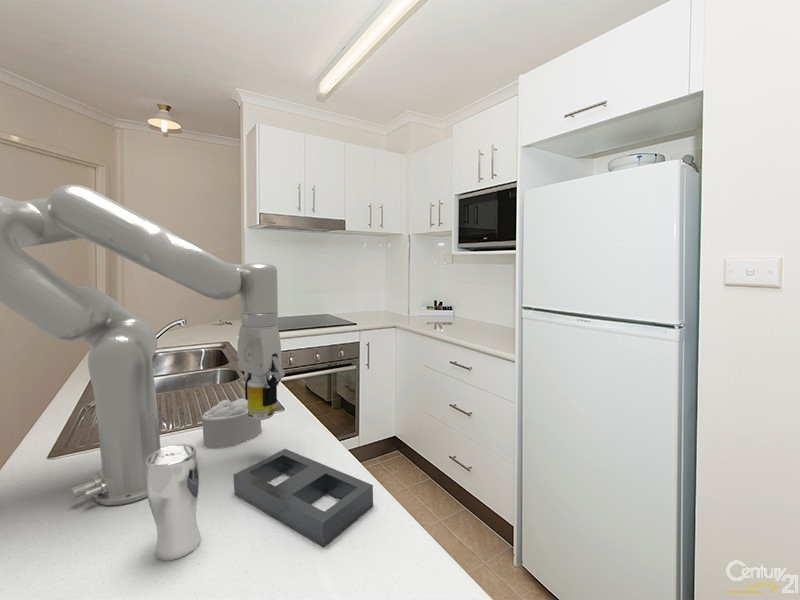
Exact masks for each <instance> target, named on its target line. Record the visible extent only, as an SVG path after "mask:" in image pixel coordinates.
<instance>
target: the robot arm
mask: <svg viewBox="0 0 800 600" xmlns="http://www.w3.org/2000/svg"><path fill="white" fill-rule="evenodd" d="M82 239H84V240H86V241H88V242H90V243H93V244H95V245H97V246H99V247H101V248H103V249H106V250H108V251H110V252H112V253H114V254H116V255H118V256H120V257H121V258H124V259H126V260H128V261H130V262H132V263H134V264H136V265H138V266H140V267H142V268H144V269H147V270H148V271H149V270H150V271H152V272H155V273H157V274H159V275H161V276H163V277H165V278H167V279H169V280H170V281H173V282H175V283H177V284H178V285H181V286H183V287H184V288H187V289H190V290H192V291H194V292H196V293H197V294H200V295H202V296H204V297H206V298H208V299H211V300H215V301H227V300H230V299H232V298H234V297H235V296H240V326H239V331H238V339H237V352H236V353H237V355H236V358H237V360H236V361H237V362H236V363H237V368H238V369H239V370H240V372H241V373H242V375H243V382H244V396H245V397H244V399H246V400H248V395H247V383H248V381H249V380H251V374H254V375H258V376H262V377H263V382H264V386H265V388H263V406H265V407H266V406H269V405H272V404H274V405H275V404H276V403H277V402H278V396H277V395H278V393H277V392H278V386H279V383H280V381H281V380H282V379H283V377H284V376H285V375H286V372H285V370H284V368H283V367H282V347H281V338H280V331H279V316H278V315H279V311H278V310H279V309H278V306H279V305H278V304H279V303H278V297H279V296H278V270H277V269H278V268H277V267H276V266H275V265H274V264H273V263H272V264H271V263H244V264H239V263H230V262H227V261H225V260H223V259H221V258H219V257H217V256H215V255H213V254H211V253H210V252H208V251H205V250H204V249H201V247H198V246H197V245H194V244H192V243H191V242H188V241H186V240H184V239H183V238H181V237H179V236H178V235H176V234H174V233H173V232H172V231H170V229H168V228H166V227H164V226H162V225H160V224H159V223H157V222H155V221H154V220H152V219H149V218H148V217H145V216H143V215H142V214H139V212H138V213H137V212H136V211H134V210H132V209H130V208H129V207H126V206H124V205H123V204H120V202H117V201H115V200H113V199H111V198H110V197H107V196H106V195H103V194H102V193H100V192H98V191H96V190H94V189H92V188H89V187H87V186H85V185H81V184H80V185H79V184H72V183H71V184H64V185H61V186H59V187H57V188H55V189H54V190H53V191H52V192H51V193H50V194H49V196H48V197H45V198H36V199H28V200H27V199H26V200H16V199H12V198H9V197H6V196H2V195H0V303H1V304H3V305H4V306H5V307H6V308H8V309H10V310H11V311H13V312H14V313H16V315H18V316H20V317H21V318H23V319H24V320H26V321H28V322H29V323H31V324H32V325H33V326H35V327H36V328H37V329H39V330H41V332H43V333H45V334H46V335H48V336H49V337H51V338H53V339H56V340H58V341H65V342H66V341H67V342H69V341H77V340H82V341H84V342H85V343H87V344H88V345H90V349H89V352H88V356H87V367H88V373H89V377H90V381H91V386H92V391H93V395H94V403H95V413H96V419H97V420H96V421H97V429H98V430H97V431H98V440H99V448H100V449H99V451H100V460H101V469H100V470H98V471H96V477H94V478H92V479H91V481H88V482H85V483H82V484H79V485H77V486H74V487H71V488H70V496H71V499H73V500H74V499H77V498H80V497H82V496H84V497H85V499H86V500H88V499H90V498H92V497H93V498H94V500H95V502H96V503H98V504H100V505H105V506H119V505H125V504H131V503H134V502H137V501H139V500H140V501H141V500H143V499H145V498H148V497H147V490H146V458H147V457H148V456H149V455H150V454H152V453H153V452H155V451H157V450H159V449H162V448H161V439H160V438H161V437H160V427H159V425H160V424H159V414H158V413H159V412H158V403H157V391H156V383H155V377H154V376H155V375H154V369H153V357H154V355H155V353H156V351H157V348H158V338H157V336H156V334H155V331H154V330H153V329H152V328H151V327H150V326H149V325H148V324H147V323H145V322H144V321H142V320H141V319H140V318H139V317H137V316H136V315H134V314H133V313H132V312H131V311H129V310H128V309H127V308H126V307H124V306H123V305H121V304H120V303H119V302H117V301H116V300H115V299H113V298H112V297H111V296H109V295H107V294H106V293H105V292H103V291H101V290H98V289H97V288H94V287H91V286H85V285H84V286H83V285H78V286H77V285H76V286H75V285H74V284H72V283H71V282H69V281H67V280H66V279H64V277H61V276H60V274H58V273H56V272H54V270H52V269H51V268H50V267H48V265H46V264H44V263H43V262H41V261H40V260H38V259H37V258H35V257H33V256H32V255H30V254H29V253H27V252H26V251H25V250H23V249H22V248H31V247H37V246H38V247H39V246H43V245H50V244H57V243H61V242H63V243H64V242H69V241H76V240H82ZM269 371H270V373H269ZM269 375H270V378H271V379H270V380H269V379H268V376H269Z"/></svg>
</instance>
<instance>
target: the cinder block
mask: <svg viewBox="0 0 800 600" xmlns="http://www.w3.org/2000/svg"><path fill="white" fill-rule="evenodd" d="M283 474H285V475H287V476H288V478H287V479H285V480H283V481H281V482H280V483H278V484H277V485H273V484H271V483H270V482H271V481H272V480H274V479H276V478H277V477H279V476H281V475H283ZM373 487H374V485H373V484H371V483H369V482H366V481H364V480H362V479H359V478H356V477H354V476H352V475H349V474H347V473H345V472H342V471H340V470H337V469H334V468H332V467H331V466H328V465H325V464H324V463H321V462H319V461H316V460H313V459H311V458H308V457H306V456H304V455H301V454H299V453H297V452H294V451H292V450H289V449H287V448H284V449H282V450H279V451H277V452H276V453H274V454H271V455H270V456H268V457H266V458H263V459H262V460H260V461H257V462H256V463H254V464H251V465H250V466H248V467H245V468H244V469H242V470H240V471H237V472H236V473H234V474H233V491H234V496H236V497H238V498H240V499H241V500H243V501H244V502H246V503H248V504H250V505H251V506H253V507H255V508H256V509H259V510H260V511H261V512H263V513H265V514H266V515H268V516H270V517H272V518H273V519H275V520H277V521H279V522H280V523H282V524H283V525H285V526H287V527H289V528H291V529H292V530H294V531H295V532H297V533H299V534H300V535H302V536H304V537H306V538H308V540H311V541H312V542H314V543H316V544H317V545H319V546H321V547H322V548H325V547H326V546H327V545H329V544H330V543H331V542H332V541H333V540H334V539H336V537H338V536H339V535H340V534H342V533H343V532H344V531H345V530H346V529H348V528H349V527H350V526H351V525H352V524H353V523H355V522H356V521H357V520H359V518H361V517H362V516H363V515H365V514H366V513H367V512H368V511H369V510H370V509H372V508H373V507H374V490H373V489H374V488H373ZM326 494H327V495H329V496H331V497H333V498H335V499H338V501H337V502H336V503H334V504H333V505H332V506H330V507H329V508H328V509H326V510H325V511H324V510H322V509H320V508H318V507H316V506H314V505H312V504H313V503H315V502H316V501H318V500H319V499H321V498H323V496H325V495H326Z"/></svg>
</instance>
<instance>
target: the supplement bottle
mask: <svg viewBox="0 0 800 600" xmlns="http://www.w3.org/2000/svg"><path fill="white" fill-rule="evenodd" d="M270 372H271V371H269V373H270ZM271 378H272V377H271V375H269V376H268V379H269V380H270V379H271ZM263 388H265V386H264V382H263V377H262V376H258V375H254V374H251V380H249V381H248V383H247V395H248V417H249V418H250V419H252V420H261V421H264V420H267V419H271V418H272V417H273V416H274V415H275V404H272V405H269V406H266V407H265V406H263Z"/></svg>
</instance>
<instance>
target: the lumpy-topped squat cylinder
mask: <svg viewBox="0 0 800 600" xmlns="http://www.w3.org/2000/svg"><path fill="white" fill-rule="evenodd" d="M201 419H202V432H203V433H202V435H203V437H202V438H203V446H204V447H205V448H207V449H222V448H230V447H235V446H238V445H241V444H244V443H246V442H248V441H247V440H249V441H251V440H253V439H256V438H257V436H258V435H259V434H260V435H262V433H261V432H262V420H252V419H250V418H249V417H248V400H246V399H245V398H243V397H242V398H238V399H236V400H234V401H231V400H229V399H224V400H220V401H219V402H218V403H217V404H216V405H214V406H212V407H211V408H210V409H209V410H207V411H205V412H204V413H203V414H202V418H201ZM260 435H259V436H260ZM259 436H258V437H259ZM255 437H256V438H255ZM252 438H253V439H252ZM250 439H251V440H250ZM245 441H246V442H245ZM243 442H244V443H243ZM240 443H241V444H240ZM237 444H238V445H237Z"/></svg>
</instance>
